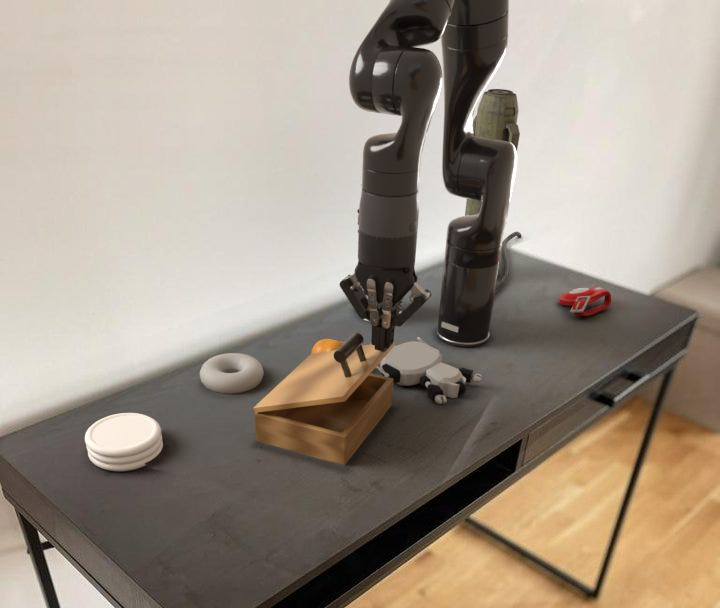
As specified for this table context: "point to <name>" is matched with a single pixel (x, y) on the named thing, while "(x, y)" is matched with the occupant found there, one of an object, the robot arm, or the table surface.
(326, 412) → the wooden box
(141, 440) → the coaster
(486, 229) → the robot arm
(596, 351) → the table surface
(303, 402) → the lid
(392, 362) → the robot toy
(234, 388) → the donut
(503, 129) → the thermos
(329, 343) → the mango
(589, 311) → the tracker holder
